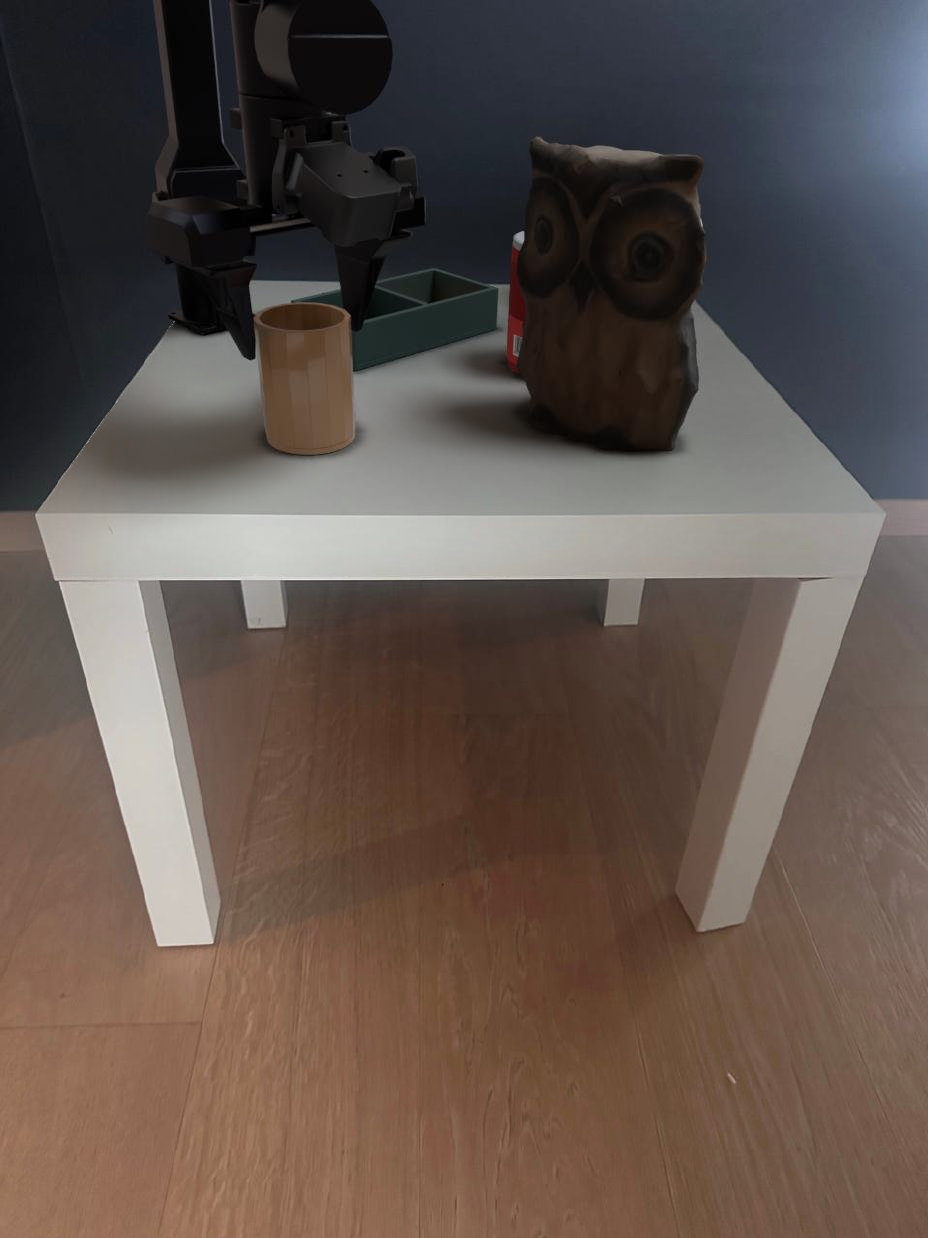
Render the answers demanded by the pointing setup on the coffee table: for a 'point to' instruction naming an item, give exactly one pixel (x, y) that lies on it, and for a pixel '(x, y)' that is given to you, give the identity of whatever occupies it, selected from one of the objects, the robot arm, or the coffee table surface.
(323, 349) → the bamboo cup
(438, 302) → the divided storage box
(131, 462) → the coffee table surface
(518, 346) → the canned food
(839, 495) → the coffee table surface
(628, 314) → the owl
